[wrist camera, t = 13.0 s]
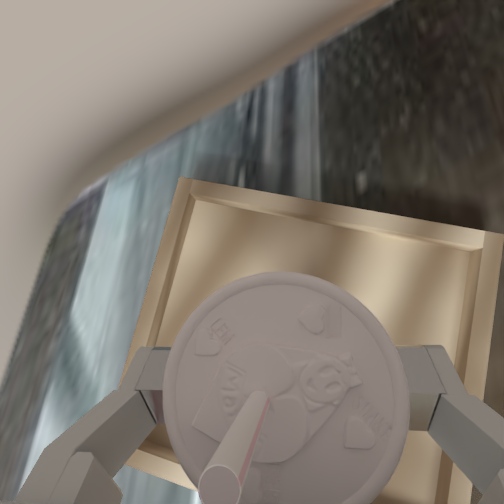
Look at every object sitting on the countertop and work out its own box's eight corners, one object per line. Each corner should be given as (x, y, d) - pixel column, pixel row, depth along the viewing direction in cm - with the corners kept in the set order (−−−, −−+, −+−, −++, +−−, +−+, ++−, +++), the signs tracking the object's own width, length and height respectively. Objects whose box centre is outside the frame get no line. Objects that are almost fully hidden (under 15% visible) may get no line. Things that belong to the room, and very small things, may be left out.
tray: (485, 242, 20) (504, 234, 18) (441, 558, 18) (458, 588, 16) (189, 187, 24) (179, 176, 22) (117, 442, 22) (98, 454, 20)
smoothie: (216, 315, 19) (-7, 314, 5) (323, 276, 18) (399, 158, 5) (253, 432, 17) (83, 885, 4) (370, 393, 17) (689, 731, 3)
